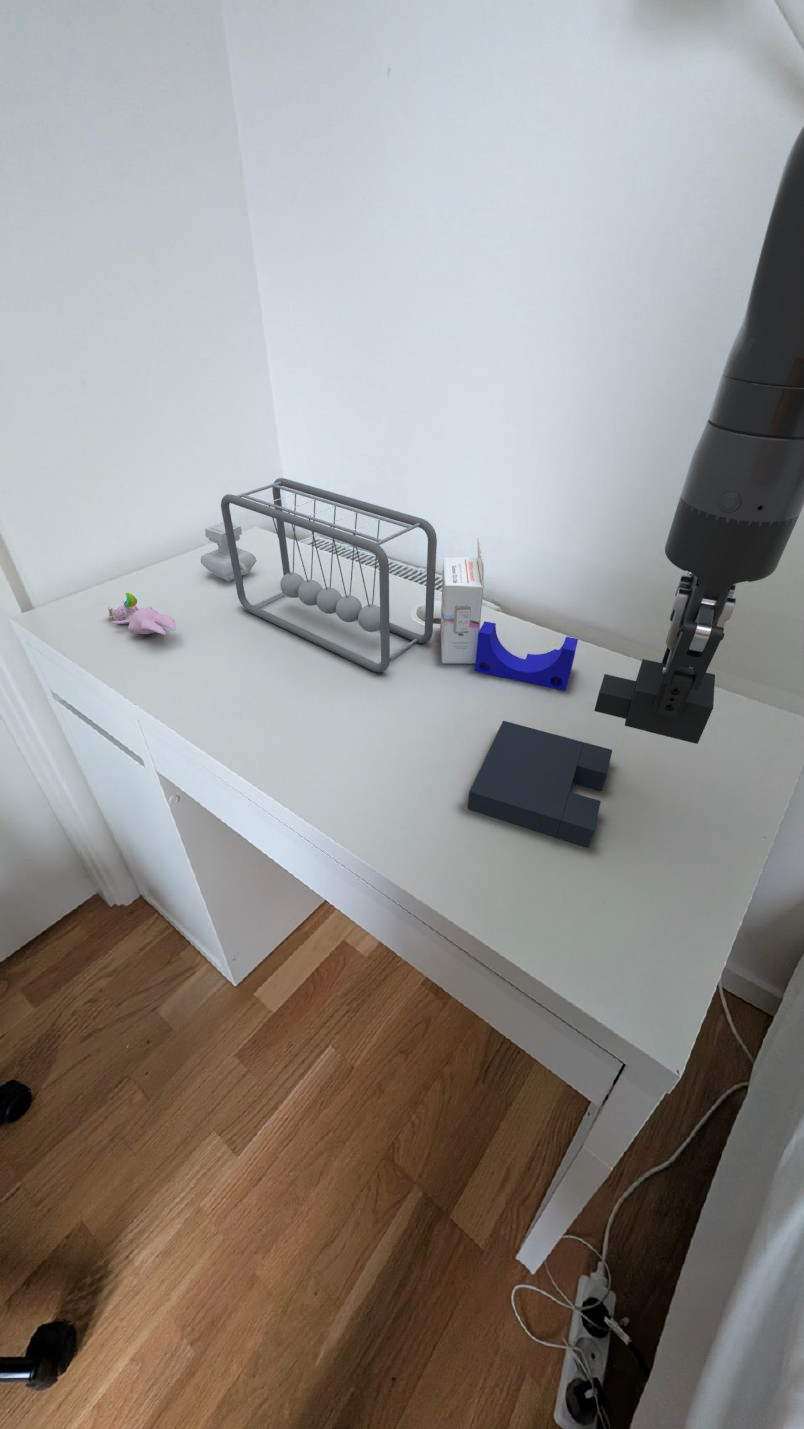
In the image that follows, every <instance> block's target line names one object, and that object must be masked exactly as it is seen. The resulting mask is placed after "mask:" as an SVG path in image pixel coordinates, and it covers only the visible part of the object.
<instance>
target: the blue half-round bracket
mask: <svg viewBox="0 0 804 1429" xmlns="http://www.w3.org/2000/svg"><path fill="white" fill-rule="evenodd" d="M496 625H497V623H495V622H491V621H486V620H485V621H483V623H482V624H481V626H480V630H479V633H478V643H477V653H476V663H474V664H475V665H474V672H476V673H479V674H480V673H482V674H484V675H490V676H494V677H499V678H503V679H508V680H513V681H518V682H522V683H527V684H531V685H536V686H541V687H545V688H550V689H555V690H559V691H564V692H566V691H567V687H568V684H569V680H570V676H571V674H572V669H573V665H574V661H575V655H576V650H577V646H578V641H579V638H575V637H570V636H565V639H564V641H563V643H562V645H561V646H560V648H559V649H556V648H555V649H552V650H550V651H547V652H544V653H539V654H535V653H527V654H526V657H525V659H524V658H521V657H518V656H516V655H514V654H513V653H512V652H510V651H509V650H508V649H506V648H505V647H504V646H503V644H502V643H501V641H500V640H499V637H498V634H497V628H496V627H497V626H496Z"/></svg>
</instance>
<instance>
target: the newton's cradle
mask: <svg viewBox="0 0 804 1429" xmlns="http://www.w3.org/2000/svg"><path fill="white" fill-rule="evenodd" d="M270 488H271V490H272V498H273V500H271V501H265V500H263V499H259V498H256V497H253V496H250V495H252V494H255V493H259V492H262V491H266V490H269V489H270ZM281 490H282V491H285V492H288V493H292V494H289V495H286V496H283V497H281V496H282V494H281ZM293 495H294V506H292V507H290V508H286V507H284V506H283V505H282V499H285V498H288V497H291V496H293ZM297 495H299V496H301V497H304V498H308V499H311V500H308V501H306V502H304V503H300V504H297ZM316 501H318V502H321V503H325V504H327V505H331V506H329V507H328V508H325V509H322V510H319V511H317V512H316ZM311 502H314V503H313V513H312V514H309V515H308V514H305V513H301V512H299V511H297V510H296V508H297V507H299V506H302V505H305V504H309V503H311ZM230 504H232V505H235V506H238V507H241V508H244V509H246V510H250V511H252V512H255V513H258V514H261V515H264V516H267V517H270V518H271V519H272V522H273V525H274V529H275V531H276V535H277V538H278V544H279V545H278V546H279V552H280V559H281V566H282V574H283V576H282V577H281V579H280V583H279V584H280V585H279V587H280V590H281V592H279V593H277V594H275V595H272V596H271V597H269V598H267V599H264V600H262V601H261V602H258V603H256V604H254V605H253V604H251V603H250V602H249V600H248V598H247V596H246V592H245V586H244V581H243V575H241V569H240V564H239V558H238V553H237V548H238V547H237V543H236V542H237V541H236V542H235V536H234V531H233V525H232V523H233V521H232V514H231V510H230ZM337 507H338V508H341V509H344V510H347V511H351V512H353V513H351V514H348V515H346V516H344V517H340V518H339V519H336V511H337ZM331 508H333V510H334V512H333V521H331V522H329V521H326V520H323V519H320V518H316V517H315V516H316V514H319V513H322V512H325V511H327V510H329V509H331ZM292 509H294V510H292ZM220 511H221V516H222V522H224V526H225V532H226V537H227V542H228V547H229V553H230V558H231V563H232V568H233V574H234V579H233V580H234V584H235V590H236V594H237V597H238V601H239V603H240V604H241V606H242V607H243V608H244V610H246V611H247V612H249V613H251V614H253V615H255V616H257V617H258V618H259V617H260V618H261V619H263V620H266V621H268V622H270V623H272V624H274V625H276V626H278V627H280V628H282V629H285V630H286V631H288V632H291V633H293V634H295V635H296V636H299V637H300V638H301V637H302V638H303V639H305V640H307V641H310V642H311V643H313V644H316V645H318V646H320V647H322V648H324V649H326V650H328V651H330V652H333V653H335V654H337V655H339V656H341V657H343V658H345V659H347V660H350V661H351V662H354V663H355V664H358V665H360V666H362V667H364V668H365V669H368V670H370V671H371V672H375V673H384V672H385V671H387V670H388V668H389V666H390V663H391V662H390V661H391V659H392V658H394V657H395V656H397V655H399V654H400V653H401V652H403V651H405V650H406V649H407V648H409V647H411V646H412V645H414V644H415V643H418V644H426V643H428V642H429V641H430V640H431V639H432V637H433V632H434V613H435V612H434V611H435V590H436V572H437V571H436V568H437V546H438V545H437V544H438V539H437V532H436V530H435V528H434V526H433V525H432V524H431V522H429V521H428V520H426V519H424V518H422V517H418V516H416V515H415V516H414V515H411V514H407V513H405V512H401V511H397V510H394V509H391V508H387V507H384V506H380V505H377V504H373V503H370V502H367V501H364V500H360V499H356V498H353V497H350V496H346V495H343V494H339V493H336V492H333V491H329V490H325V489H322V488H319V487H317V486H316V487H315V486H312V485H309V484H305V483H301V482H298V481H294V480H292V479H288V478H285V477H279V478H277V479H275V480H274V482H273V483H271V484H268V485H265V486H261V487H259V488H256V489H252V490H249V491H246V492H243V493H240V494H237V495H234V494H231V493H230V494H229V493H227V494H225V495H223V496H222V498H221V500H220ZM358 514H360V515H363V516H367V517H370V518H373V519H376V520H373V521H371V522H368V523H367V524H364V525H361V526H359V527H357V522H358V521H357V520H358ZM352 515H355V521H354V522H355V523H354V529H351V528H347V527H344V526H341V525H339V524H336V522H338V521H340V520H342V519H346V518H347V517H350V516H352ZM377 521H378V522H377ZM380 521H383V522H387V523H390V524H391V525H392V524H393V525H396V526H399V527H402V528H403V529H402V530H400V531H398V532H396V533H394V534H392V535H389V536H387V537H385V538H382V539H381V538H379V536H380V524H381V523H380ZM375 522H377V534H376V535H377V536H376V537H375V536H373V535H368V534H367V533H362V532H359V531H358V530H359V529H361V528H364V527H366V526H369V525H371V524H372V523H375ZM285 523H287V524H290V525H291V529H292V531H293V547H292V548H293V549H292V555H293V556H292V571H291V568H290V560H289V553H288V543H287V537H286V535H287V534H286V528H285ZM296 527H299V528H302V529H304V530H307V531H310V532H311V535H312V542H311V564H310V578H309V579H308V576H307V572H306V568H305V564H304V561H303V557H302V553H301V550H300V545H299V543H298V539H297V538H298V537H297V535H296ZM417 528H419V529H421V530H423V531H424V532H425V535H426V537H427V555H426V582H425V583H426V585H425V588H426V589H425V607H424V608H425V611H424V632H423V634H419V633H416V632H414V631H412V630H409V629H406V628H404V627H402V626H399V625H397V624H396V623H392V622H390V563H389V558H388V555H387V553H386V551H385V550H384V549H383V547H382V546H381V545H383V544H385V543H387V542H389V541H391V540H394V539H395V538H397V537H399V536H400V537H401V536H402V535H403V534H406V533H408V532H410V531H412V530H414V529H417ZM315 533H316V534H319V535H322V536H324V537H326V538H327V537H328V538H330V539H332V542H331V544H332V545H331V557H330V558H331V559H330V576H329V586H327V583H326V578H325V575H324V571H323V566H322V563H321V562H322V561H321V558H320V555H319V549H318V546H317V543H316V542H317V541H316V538H315ZM336 541H340V542H342V543H344V544H347V545H351V546H353V548H352V559H351V569H350V570H351V571H350V583H349V594H347V591H346V586H345V582H344V578H343V572H342V568H341V563H340V559H339V555H338V550H337V546H336ZM295 542H296V546H297V550H298V553H299V558H300V560H301V564H302V567H303V572H304V575H305V578H306V580H305V579H304V577H303V576H302V575H301V574H299V573H296V572H295ZM314 547H315V550H316V553H317V558H318V562H319V566H320V571H321V575H322V578H323V583H324V586H325V588H323V586H322V585H321V584H320V583H319V581H316V580H314V579H313V564H314V561H313V559H314ZM358 548H359V549H362V550H365V551H368V552H371V553H372V554H373V555H374V556H375V562H374V572H373V587H372V599H371V603H370V601H369V597H368V591H367V588H366V587H367V586H366V582H365V578H364V573H363V568H362V562H361V559H360V555H359V549H358ZM334 550H335V554H336V559H337V563H338V568H339V572H340V578H341V582H342V586H343V590H344V596H342V594H341V593H340V591H339V590H337V589H336V588H334V587H332V572H333V561H334V560H333V559H334ZM355 550H356V555H357V560H358V564H359V569H360V573H361V579H362V583H363V587H364V592H365V596H366V602H367V604H366V605H364V606H363V605H362V603H361V601H360V599H359V598H357V597H356V596H354V595H351V593H352V581H353V570H354V560H355V557H354V556H355ZM377 561H378V574H379V582H378V583H379V605H377V604H374V601H375V586H376V573H377ZM283 595H285V597H288V598H290V599H297V598H298V599H299V600H300V602H301V603H302V604H304V605H306V606H310V607H313V606H316V605H317V608H318V609H319V611H321V612H322V613H324V614H326V615H328V614H329V615H332V614H335V613H336V616H337V617H338V618H339V619H340V620H341V621H343V622H344V623H354V622H356V621H358V622H357V623H358V624H359V626H360V628H361V629H362V630H364V631H366V632H369V633H375V632H378V631H380V662H379V663H378V662H375V661H373V660H371V659H369V658H366V657H364V656H362V655H360V654H358V653H356V652H353V651H352V650H349V649H347V648H345V647H343V646H341V645H339V644H336V643H335V642H332V641H330V640H328V639H325V638H324V637H321V636H320V635H317V634H315V633H313V632H311V631H309V630H306V629H304V628H303V627H300V626H298V625H296V624H293V623H292V622H290V621H288V620H286V619H283V618H282V617H279V616H276V615H274V614H272V613H270V612H268V611H265V610H264V609H262V608H259V607H260V606H262V605H264V604H266V603H268V602H270V601H273V600H274V599H277V598H279V597H281V596H283ZM390 632H392V633H394V634H396V635H398V636H401V637H403V638H406V639H408V640H410V642H408V643H407V644H405V645H404V646H402V647H400V648H399V649H398V650H396V651H394V652H393V653H391V652H390V651H391V647H390V646H391V644H390V643H391V642H390V641H391V640H390Z"/></svg>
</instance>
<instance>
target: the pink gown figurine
mask: <svg viewBox="0 0 804 1429" xmlns="http://www.w3.org/2000/svg"><path fill="white" fill-rule="evenodd" d="M125 595H126V599H125V601H124V600H123V601H122V603H123V605H121V606H119V607H117V608H116V609H114V608H112V607H111V608H110V607H109V606H107V609H108V618H111V619H112V622H111V624H112V625H114V626H115V625H125V624H128V626H127V627H128V628H127V629H128V631H129V632H130V633H133V634H140V635H151V634H154V633H158V634H160V635H163V636H166V635H167V632H166V631H165V629H164V628H166V629H169V630H171V631H173V632H175V631H176V629H177V626H176V622H175V620H174V617H172V616H171V615H168V614H161V613H159V611H157V610H156V609H153V607H152V606H148V607H141V608H138V606H137V604H138V599H137V597H135V595H134V594H133V593H130V592H125ZM163 627H164V628H163Z"/></svg>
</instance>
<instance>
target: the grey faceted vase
mask: <svg viewBox="0 0 804 1429" xmlns="http://www.w3.org/2000/svg"><path fill="white" fill-rule="evenodd" d="M232 525H233V531H234V536H235V542H238V541H240V539H241V537H240V536H241V535H243V533H242V526H241V525H239V524H235V523H233V522H232ZM204 534H205V535H204V536H205V538H208V541H209V542H212V543H214V544H216V545H217V547H218V548H217V549H215V550H211V551H210V552H207V553H205V554H202V555H201V556H200V564H201V565H202V566H203V567H204V568H206V569H207V571H209V572H210V573H211V574H212V575H214V576H216V577H218V578H220V579H223V580H225V581H227V582H231V581H233V580H235V579H234V574H233V568H232V563H231V558H230V553H229V547H228V542H227V537H226V532H225V526H224V521H221V522H220V523H217V524H214V525H211V526H209V527H206V528H204ZM237 553H238V558H239V564H240V569H241V575H242V576H245V575H247V574H249V573H250V572H251V570H252V569H253V567H254V566H255V564H256V562H257V561H258V560H257V557H256V556H255V554H253V553H252V552H249V551H247V550H244V549H242V548H239V547H237Z"/></svg>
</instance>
